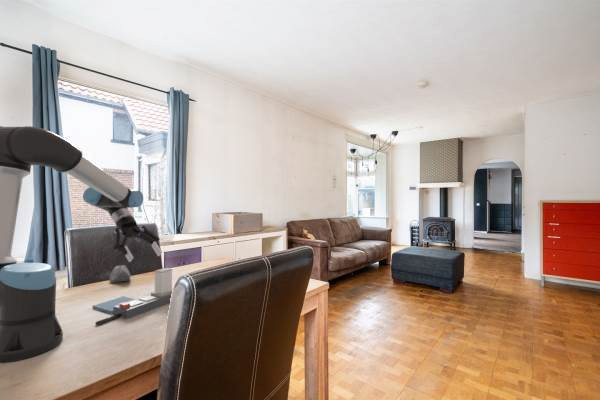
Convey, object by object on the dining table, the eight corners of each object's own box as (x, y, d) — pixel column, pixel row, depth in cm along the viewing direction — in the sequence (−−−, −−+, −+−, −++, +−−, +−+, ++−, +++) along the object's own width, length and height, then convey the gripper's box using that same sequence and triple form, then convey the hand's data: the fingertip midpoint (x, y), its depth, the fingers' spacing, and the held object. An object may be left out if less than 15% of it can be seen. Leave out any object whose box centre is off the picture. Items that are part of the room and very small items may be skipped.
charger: (161, 296, 117) (161, 271, 117) (154, 294, 118) (154, 270, 118) (171, 292, 121) (171, 268, 121) (165, 291, 123) (165, 267, 123)
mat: (111, 314, 106) (111, 311, 106) (92, 308, 111) (92, 305, 111) (142, 303, 117) (142, 301, 117) (123, 298, 122) (123, 296, 122)
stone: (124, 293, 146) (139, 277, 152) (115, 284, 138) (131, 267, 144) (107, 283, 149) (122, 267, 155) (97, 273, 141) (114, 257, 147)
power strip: (103, 327, 95) (103, 315, 95) (89, 323, 98) (89, 310, 98) (181, 297, 124) (181, 288, 123) (168, 295, 127) (168, 285, 127)
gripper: (145, 224, 143) (166, 257, 137) (91, 228, 121) (113, 268, 114) (152, 213, 141) (174, 247, 135) (98, 216, 118) (121, 256, 112)
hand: (146, 257), depth 124 cm, fingers open, 13 cm apart
